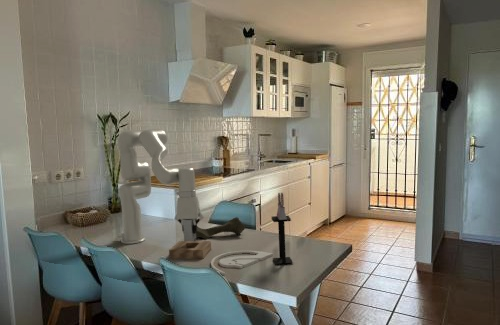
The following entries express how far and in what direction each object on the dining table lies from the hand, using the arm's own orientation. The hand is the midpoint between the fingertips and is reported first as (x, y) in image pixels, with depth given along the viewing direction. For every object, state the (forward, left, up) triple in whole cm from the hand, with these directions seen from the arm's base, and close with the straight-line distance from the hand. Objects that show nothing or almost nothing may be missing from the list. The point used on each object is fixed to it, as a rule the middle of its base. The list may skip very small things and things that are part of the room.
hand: (189, 232), depth 185 cm
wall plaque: (+23, -9, -11) cm, 27 cm away
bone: (+5, +31, -11) cm, 33 cm away
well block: (0, 0, -10) cm, 10 cm away
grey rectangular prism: (0, 0, -3) cm, 3 cm away
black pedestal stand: (+44, -10, -10) cm, 46 cm away
